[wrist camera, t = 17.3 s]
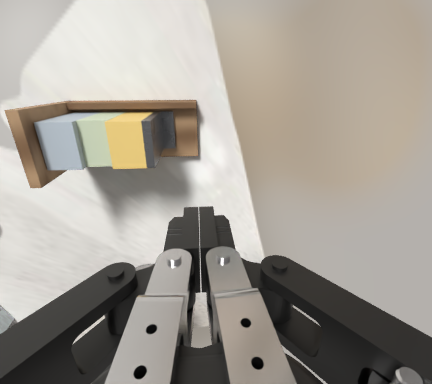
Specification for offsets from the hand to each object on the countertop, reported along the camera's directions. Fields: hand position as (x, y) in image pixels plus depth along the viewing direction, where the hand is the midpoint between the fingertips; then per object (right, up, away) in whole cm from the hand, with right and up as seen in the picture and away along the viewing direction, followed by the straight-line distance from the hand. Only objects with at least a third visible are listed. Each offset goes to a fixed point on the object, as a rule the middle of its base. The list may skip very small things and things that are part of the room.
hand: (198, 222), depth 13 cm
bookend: (-8, +11, +25) cm, 28 cm away
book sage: (-14, +11, +25) cm, 30 cm away
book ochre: (-10, +11, +25) cm, 29 cm away
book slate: (-18, +11, +24) cm, 32 cm away
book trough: (-12, +11, +26) cm, 31 cm away
